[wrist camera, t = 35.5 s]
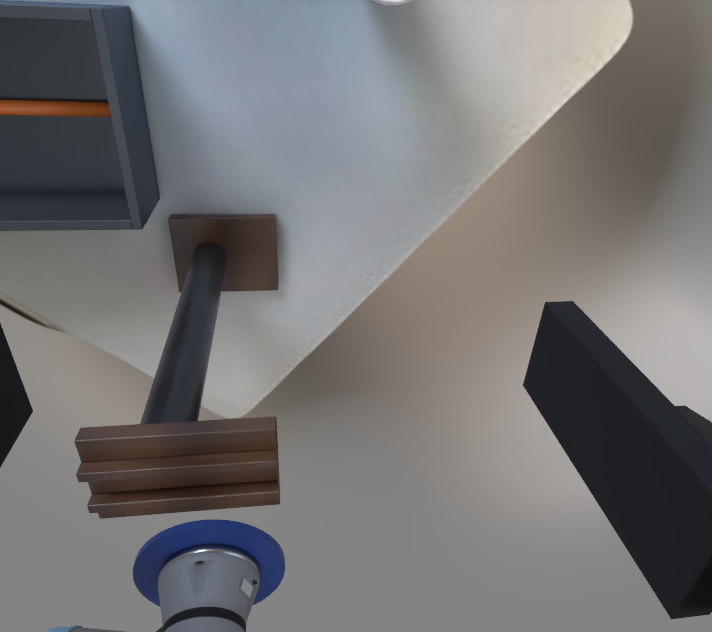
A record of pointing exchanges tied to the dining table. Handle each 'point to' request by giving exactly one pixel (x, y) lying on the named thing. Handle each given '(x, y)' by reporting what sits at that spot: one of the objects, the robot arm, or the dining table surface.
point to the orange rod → (54, 108)
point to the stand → (191, 392)
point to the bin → (73, 120)
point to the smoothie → (391, 2)
